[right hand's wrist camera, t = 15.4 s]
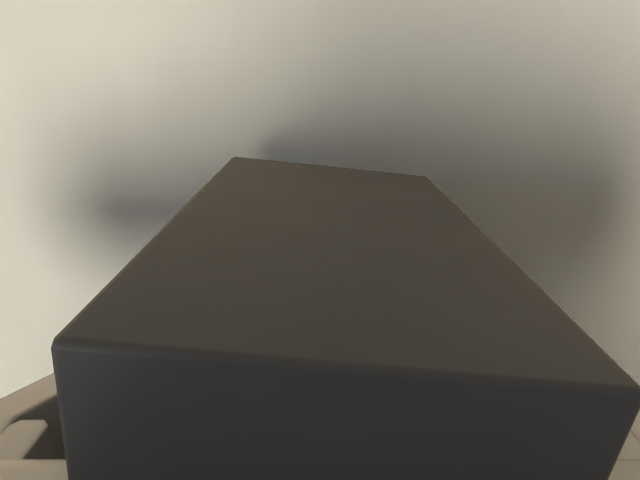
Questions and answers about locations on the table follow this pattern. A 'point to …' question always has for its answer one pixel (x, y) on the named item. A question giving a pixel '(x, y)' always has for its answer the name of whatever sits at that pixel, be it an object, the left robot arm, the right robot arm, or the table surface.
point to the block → (332, 346)
